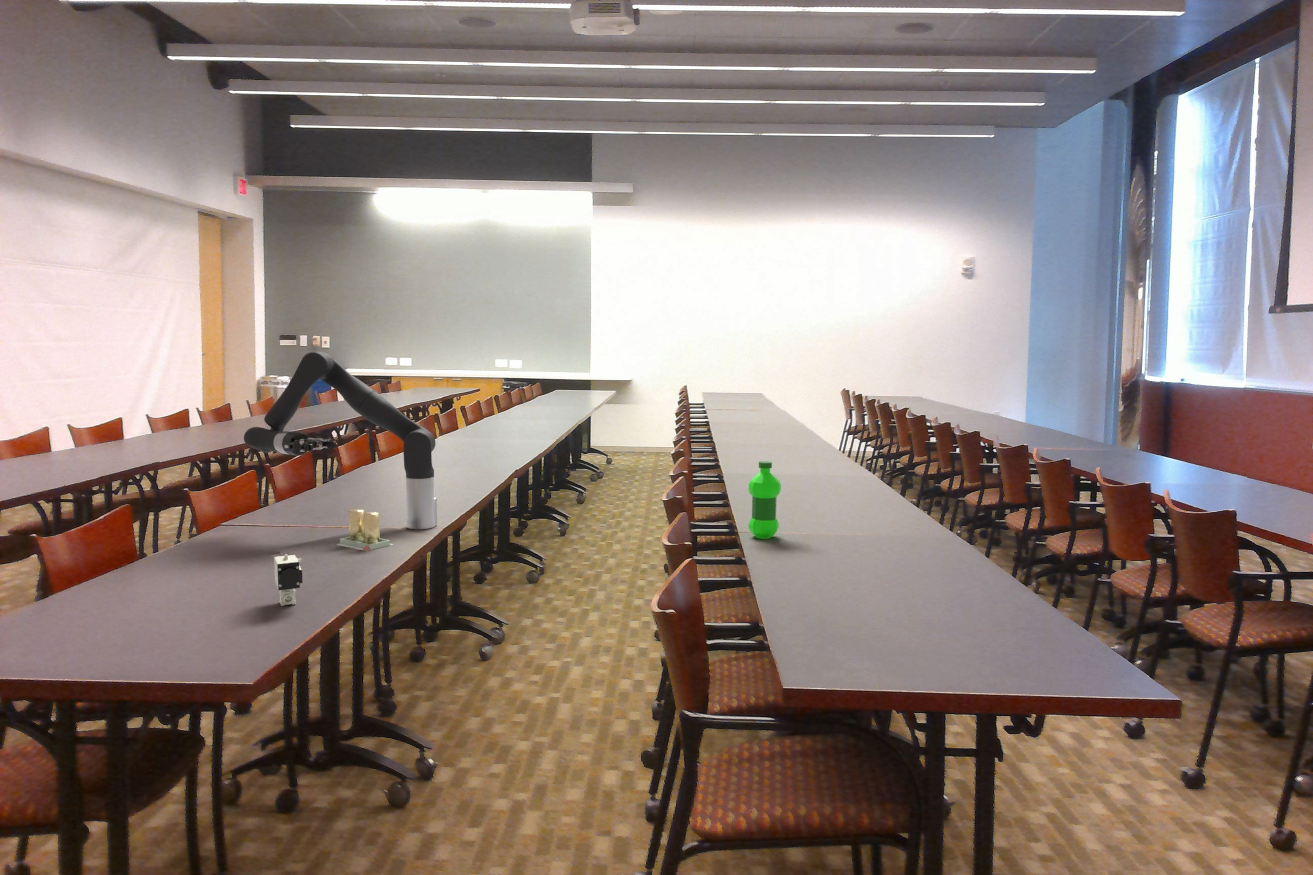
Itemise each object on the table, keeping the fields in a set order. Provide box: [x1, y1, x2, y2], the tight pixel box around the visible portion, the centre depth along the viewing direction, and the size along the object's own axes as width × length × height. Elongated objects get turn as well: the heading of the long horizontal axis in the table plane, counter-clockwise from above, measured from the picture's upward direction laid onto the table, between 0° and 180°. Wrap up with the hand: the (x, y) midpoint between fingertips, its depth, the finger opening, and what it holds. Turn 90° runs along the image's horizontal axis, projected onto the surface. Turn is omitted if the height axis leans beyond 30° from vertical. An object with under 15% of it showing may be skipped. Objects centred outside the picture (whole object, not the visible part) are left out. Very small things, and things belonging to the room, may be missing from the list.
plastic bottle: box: [748, 460, 782, 540], centre depth 281 cm, size 10×10×25 cm
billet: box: [348, 508, 366, 541], centre depth 261 cm, size 4×4×10 cm
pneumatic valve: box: [273, 553, 303, 607], centre depth 205 cm, size 6×12×12 cm, turn 29°
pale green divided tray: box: [336, 536, 394, 552], centre depth 260 cm, size 10×14×3 cm
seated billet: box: [363, 511, 381, 544], centre depth 257 cm, size 4×4×10 cm
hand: (323, 446), depth 269 cm, fingers open, 8 cm apart
